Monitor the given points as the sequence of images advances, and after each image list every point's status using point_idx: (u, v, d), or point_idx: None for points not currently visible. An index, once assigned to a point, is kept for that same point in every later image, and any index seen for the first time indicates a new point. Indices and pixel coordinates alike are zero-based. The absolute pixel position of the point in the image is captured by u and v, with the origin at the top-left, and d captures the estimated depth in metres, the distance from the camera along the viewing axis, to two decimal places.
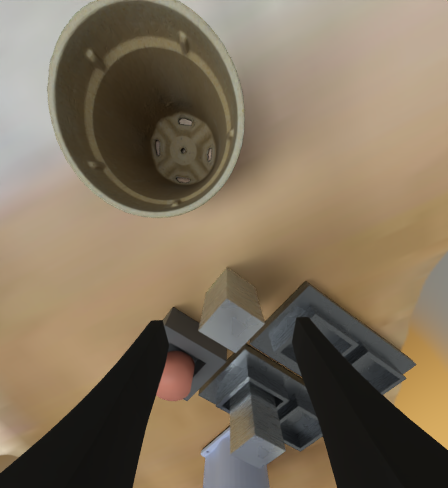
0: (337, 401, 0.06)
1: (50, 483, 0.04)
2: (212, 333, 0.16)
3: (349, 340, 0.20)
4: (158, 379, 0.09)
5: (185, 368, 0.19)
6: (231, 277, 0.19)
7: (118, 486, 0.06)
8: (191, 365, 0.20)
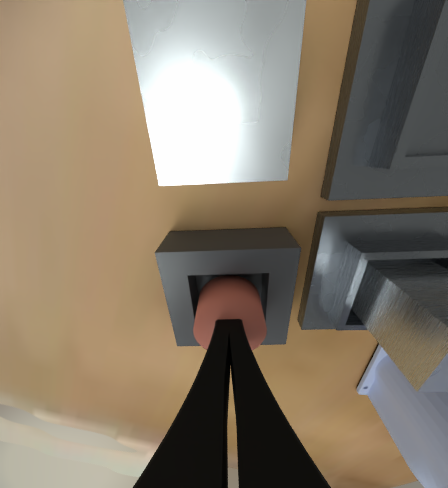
0: None
1: (202, 483, 0.04)
2: (192, 166, 0.06)
3: None
4: (229, 378, 0.09)
5: (233, 293, 0.10)
6: None
7: (226, 486, 0.06)
8: (244, 286, 0.11)
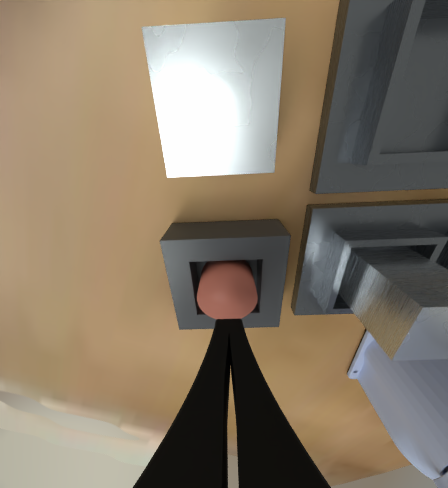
0: None
1: (202, 483, 0.04)
2: (195, 161, 0.07)
3: None
4: (229, 378, 0.09)
5: (229, 267, 0.12)
6: None
7: (226, 486, 0.06)
8: (239, 262, 0.13)
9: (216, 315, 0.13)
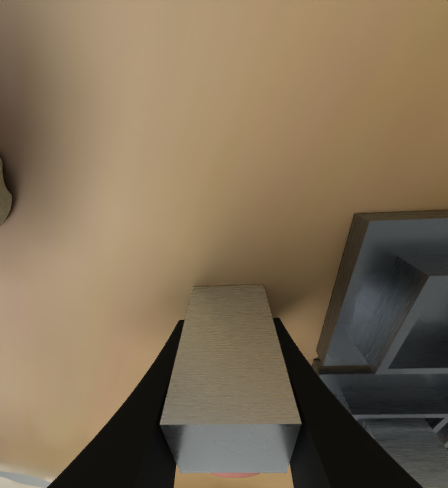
0: None
1: (115, 483, 0.04)
2: (208, 467, 0.07)
3: None
4: None
5: None
6: (199, 309, 0.09)
7: (164, 486, 0.06)
8: None
9: (223, 475, 0.13)
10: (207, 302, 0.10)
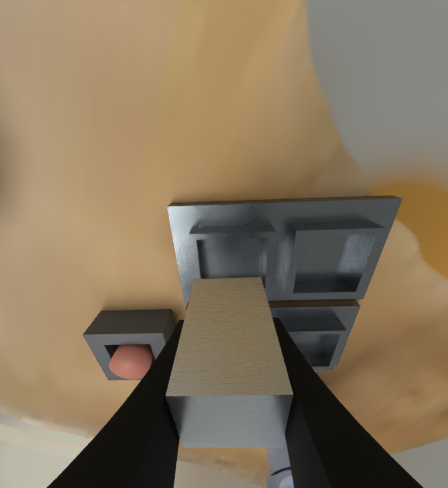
0: (292, 401, 0.07)
1: (115, 483, 0.04)
2: (209, 442, 0.07)
3: (258, 234, 0.14)
4: None
5: (130, 348, 0.19)
6: (200, 299, 0.10)
7: (164, 486, 0.06)
8: None
9: (124, 376, 0.20)
10: (208, 293, 0.10)
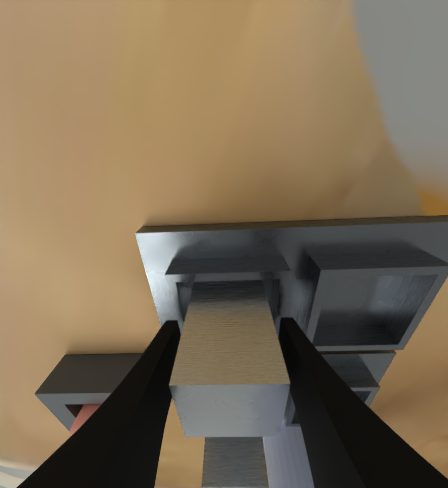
0: (313, 401, 0.07)
1: (84, 483, 0.04)
2: (210, 431, 0.08)
3: (266, 275, 0.10)
4: None
5: (97, 408, 0.15)
6: (201, 295, 0.10)
7: (142, 486, 0.06)
8: None
9: None
10: (209, 289, 0.10)
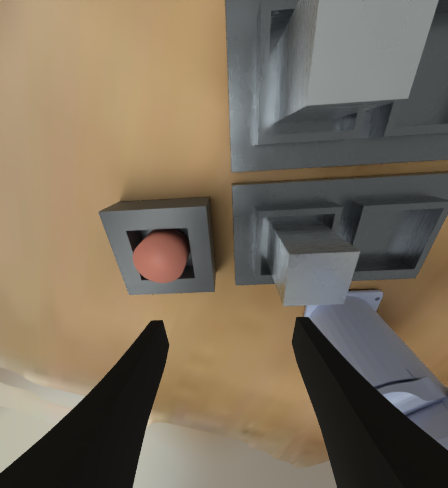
0: (337, 401, 0.06)
1: (50, 483, 0.04)
2: (337, 87, 0.07)
3: None
4: (158, 379, 0.09)
5: (160, 234, 0.15)
6: None
7: (118, 486, 0.06)
8: (172, 232, 0.15)
9: (152, 277, 0.15)
10: None
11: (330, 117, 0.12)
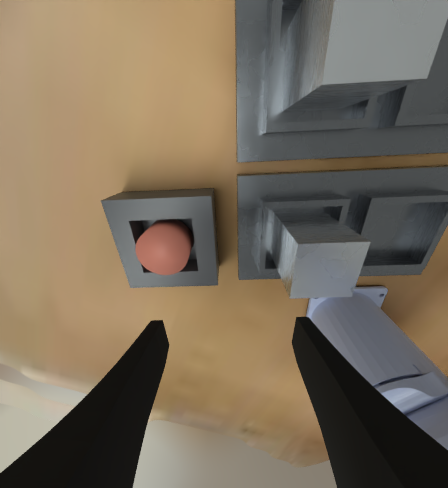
0: (337, 401, 0.06)
1: (50, 483, 0.04)
2: (354, 65, 0.07)
3: None
4: (158, 379, 0.09)
5: (163, 225, 0.14)
6: None
7: (118, 486, 0.06)
8: (176, 223, 0.15)
9: (155, 269, 0.15)
10: None
11: (340, 105, 0.11)
